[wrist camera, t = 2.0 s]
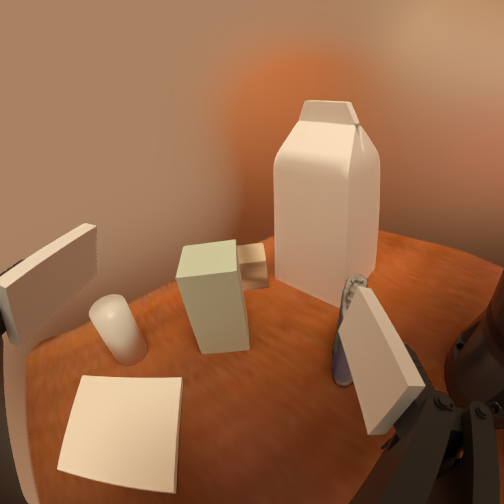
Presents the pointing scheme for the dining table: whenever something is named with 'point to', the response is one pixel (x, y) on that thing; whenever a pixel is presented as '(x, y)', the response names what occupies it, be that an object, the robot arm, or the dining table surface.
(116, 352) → the white cylinder
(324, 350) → the dining table surface
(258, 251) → the maple cube
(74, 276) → the robot arm
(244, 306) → the sage block
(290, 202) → the milk
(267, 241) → the dining table surface
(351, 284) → the flask
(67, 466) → the white tile
